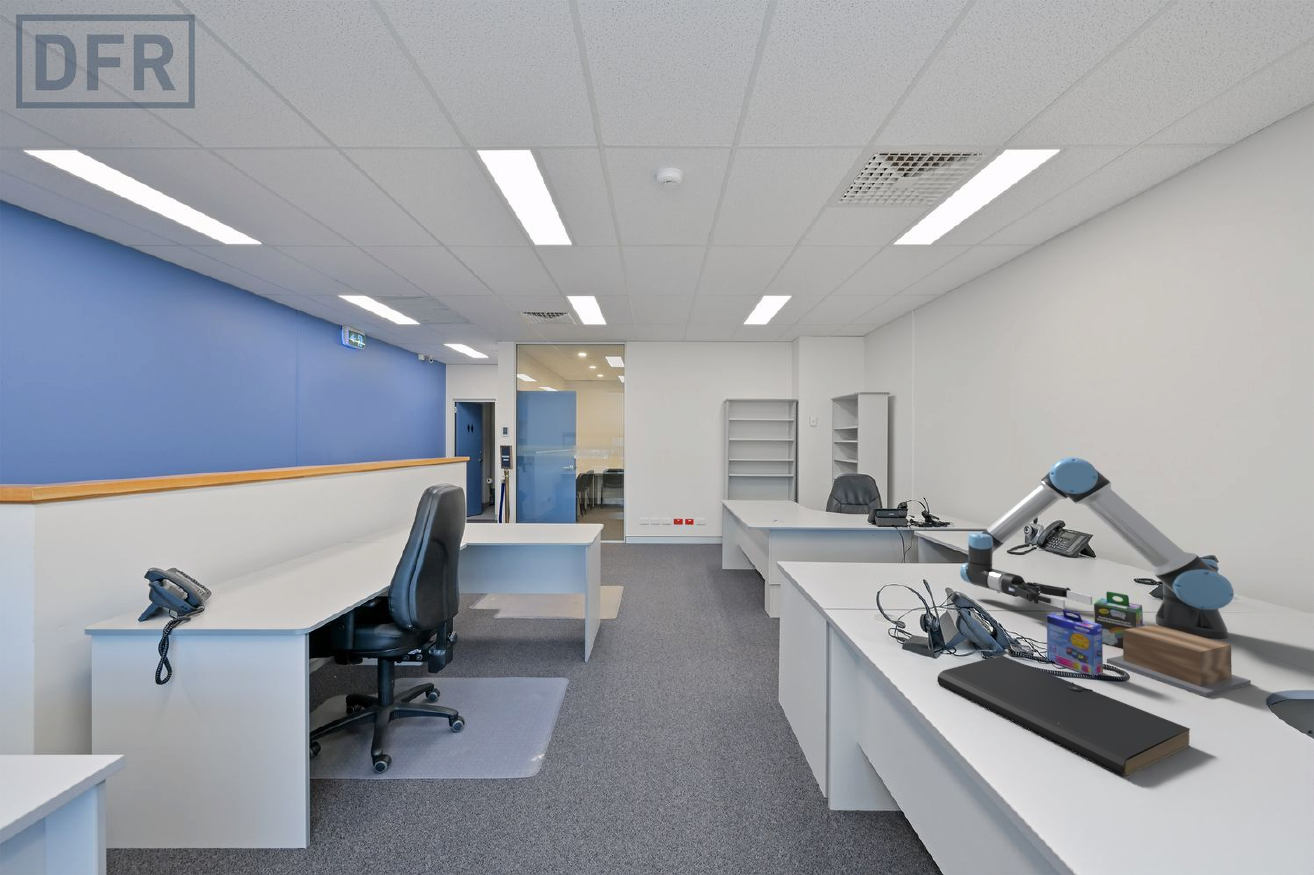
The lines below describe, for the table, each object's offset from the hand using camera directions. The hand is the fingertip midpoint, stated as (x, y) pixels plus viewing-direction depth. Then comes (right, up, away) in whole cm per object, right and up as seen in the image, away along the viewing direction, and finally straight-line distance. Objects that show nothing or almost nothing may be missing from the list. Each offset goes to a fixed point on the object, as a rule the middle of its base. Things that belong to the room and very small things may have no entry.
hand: (1078, 602), depth 145 cm
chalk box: (+3, -9, -9) cm, 13 cm away
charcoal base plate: (-1, -8, -28) cm, 29 cm away
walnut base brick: (-1, -8, -28) cm, 29 cm away
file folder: (-49, -7, -47) cm, 68 cm away
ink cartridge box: (-25, -8, -26) cm, 36 cm away
